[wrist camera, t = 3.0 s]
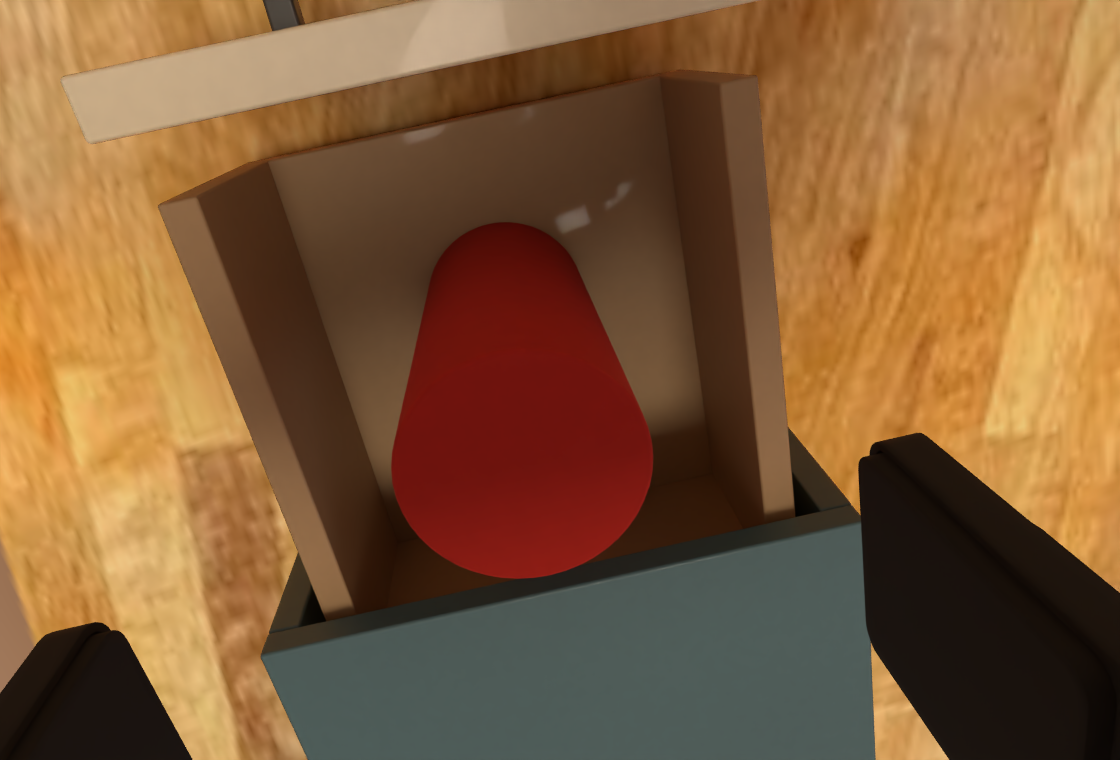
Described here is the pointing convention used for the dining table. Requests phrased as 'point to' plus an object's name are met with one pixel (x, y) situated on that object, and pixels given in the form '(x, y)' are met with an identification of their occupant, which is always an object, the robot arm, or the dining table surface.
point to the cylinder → (517, 413)
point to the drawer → (433, 225)
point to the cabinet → (605, 654)
